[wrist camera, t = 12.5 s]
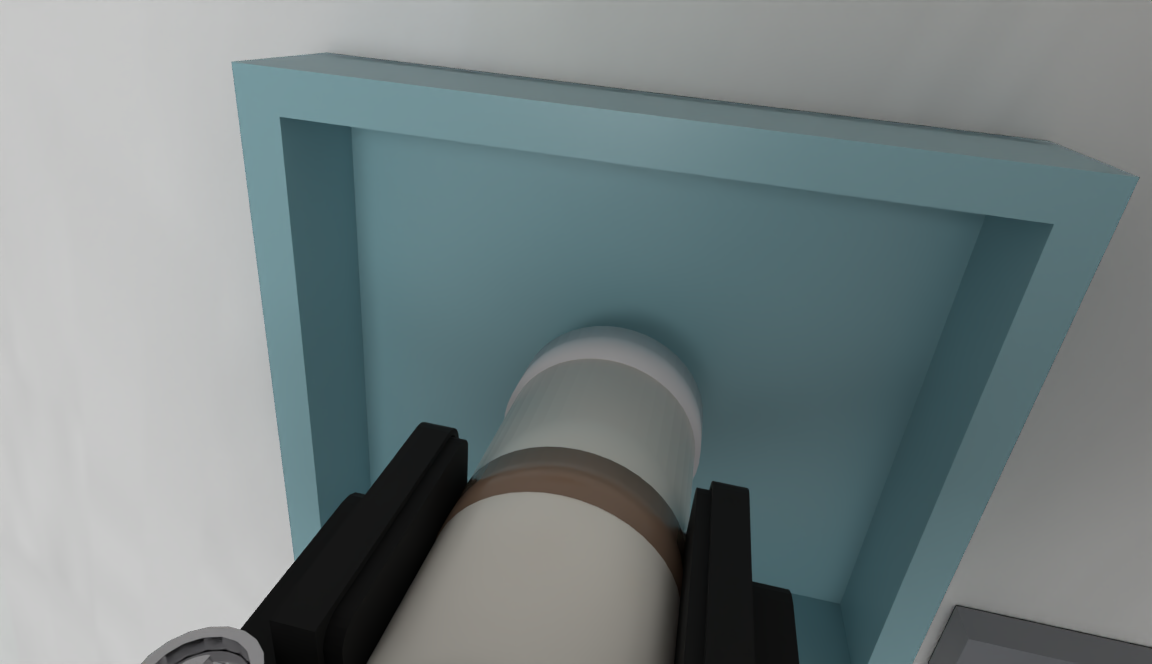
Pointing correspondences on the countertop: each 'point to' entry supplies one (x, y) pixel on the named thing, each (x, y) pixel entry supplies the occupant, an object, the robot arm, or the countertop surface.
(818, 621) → the parts tray
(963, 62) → the countertop surface
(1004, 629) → the fuse panel
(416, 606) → the fuse
